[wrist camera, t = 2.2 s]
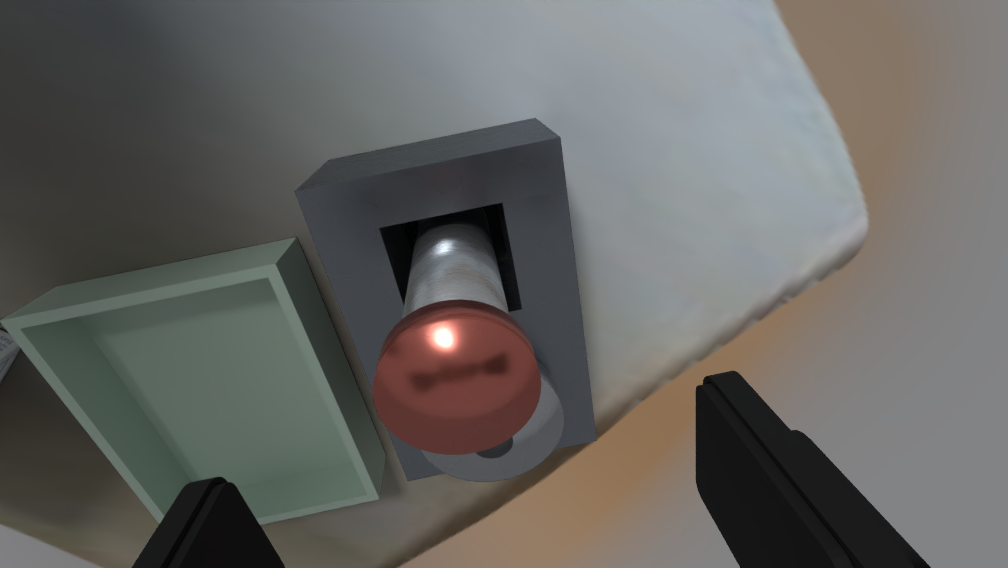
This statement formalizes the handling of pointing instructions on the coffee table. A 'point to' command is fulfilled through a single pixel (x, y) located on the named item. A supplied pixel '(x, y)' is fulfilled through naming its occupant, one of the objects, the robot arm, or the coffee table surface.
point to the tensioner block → (525, 274)
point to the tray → (211, 380)
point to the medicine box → (7, 352)
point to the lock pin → (456, 346)
